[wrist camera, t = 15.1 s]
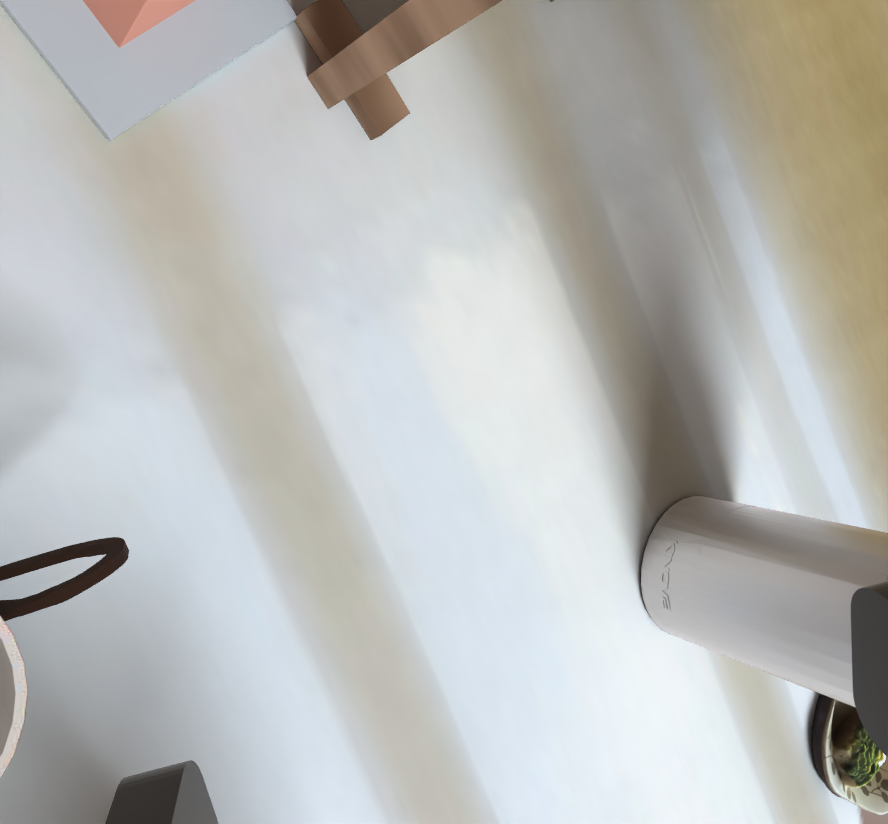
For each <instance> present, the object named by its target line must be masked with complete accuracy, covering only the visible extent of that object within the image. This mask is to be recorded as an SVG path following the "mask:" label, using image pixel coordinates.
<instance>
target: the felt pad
mask: <svg viewBox="0 0 888 824" xmlns="http://www.w3.org/2000/svg"><path fill="white" fill-rule="evenodd" d="M0 4H1V5H2V7H3V8H4V9H5V10H6V12H7V13H8V14H9V15H10V17H11V18H12V19H13V21H14V22H15V23H16V24H17V26H18V27H19V28H20V29H21V31H22V32H23V33H24V35H25V36H26V37H27V38H28V40H29V41H30V42H31V43H32V45H33V46H34V47H35V48H36V50H37V51H38V52H39V54H40V55H41V56H42V57H43V59H44V60H45V61H46V62H47V64H48V65H49V66H50V67H51V69H52V70H53V71H54V73H55V74H56V75H57V76H58V78H59V79H60V80H61V81H62V83H63V84H64V85H65V86H66V88H67V89H68V90H69V92H70V93H71V94H72V95H73V97H74V98H75V99H76V100H77V102H78V103H79V104H80V105H81V107H82V108H83V109H84V111H85V112H86V113H87V114H88V116H89V117H90V118H91V119H92V121H93V122H94V123H95V125H96V126H97V127H98V128H99V130H100V131H101V132H102V133H103V135H104V136H105V137H106V138H107V140H108V141H110V140H112V139H113V138H115V137H116V136H118V135H119V134H121V133H122V132H124V131H125V130H127V129H129V128H130V127H132V126H133V125H135V124H136V123H138V122H139V121H141V120H142V119H144V118H145V117H147V116H148V115H150V114H152V113H153V112H155V111H156V110H158V109H159V108H161V107H162V106H164V105H165V104H167V103H168V102H170V101H171V100H173V99H175V98H176V97H178V96H179V95H181V94H182V93H184V92H185V91H187V90H188V89H190V88H191V87H193V86H194V85H196V84H198V83H199V82H201V81H202V80H204V79H205V78H207V77H208V76H210V75H211V74H213V73H214V72H216V71H218V70H219V69H221V68H222V67H224V66H225V65H227V64H228V63H230V62H231V61H233V60H234V59H236V58H237V57H239V56H241V55H242V54H244V53H245V52H247V51H248V50H250V49H251V48H253V47H254V46H256V45H257V44H259V43H260V42H262V41H264V40H265V39H267V38H268V37H270V36H271V35H273V34H274V33H276V32H277V31H279V30H280V29H282V28H283V27H285V26H287V25H288V24H290V23H291V22H293V21H294V20H295V19H296V18H297V16H296V14H295V12H294V11H293V9H292V8H291V6H290V5H289V3H288V1H287V0H195V1H194V2H192V3H191V4H189V5H187V6H186V7H184V8H183V9H181V10H179V11H178V12H176V13H175V14H173V15H171V16H170V17H168V18H167V19H165V20H163V21H162V22H160V23H159V24H157V25H155V26H154V27H152V28H151V29H149V30H147V31H146V32H144V33H142V34H141V35H139V36H138V37H136V38H134V39H133V40H131V41H130V42H128V43H126V44H125V45H123V46H122V47H120V48H118V46H117V45H116V44H115V42H114V41H113V40H112V38H111V37H110V36H109V34H108V33H107V32H106V30H105V29H104V28H103V26H102V25H101V24H100V23H99V21H98V20H97V19H96V17H95V16H94V15H93V13H92V12H91V11H90V9H89V8H88V7H87V5H86V4H85V3H84V1H83V0H0Z"/></svg>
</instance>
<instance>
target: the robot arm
mask: <svg viewBox="0 0 888 824" xmlns="http://www.w3.org/2000/svg"><path fill="white" fill-rule="evenodd" d="M641 587H642V595H643V600H644V603H645V606H646V609H647V612H648V613H649V615H650V617H651V619H652V620H653V622H654V623H655V624H656V625H657V626H658V627H659V628H660V629H662V630H663V631H665V632H667V633H669V634H671V635H674V636H676V637H679V638H681V639H684V640H686V641H689V642H691V643H694V644H697V645H699V646H702V647H704V648H707V649H709V650H712V651H714V652H716V653H719V654H721V655H724V656H726V657H729V658H731V659H734V660H736V661H739V662H741V663H744V664H746V665H749V666H752V667H754V668H757V669H759V670H762V671H764V672H767V673H769V674H772V675H774V676H777V677H780V678H782V679H785V680H787V681H790V682H792V683H795V684H797V685H800V686H802V687H805V688H808V689H810V690H813V691H815V692H818V693H820V694H823V695H825V696H828V697H830V698H833V699H836V700H838V701H841V702H843V703H846V704H848V705H851V706H853V707H856V710H857V713H858V715H859V718H860V720H861V722H862V724H863V726H864V728H865V730H866V732H867V733H868V735H869V736H870V738H871V739H872V741H873V742H874V743H875V745H876V746H877V747H878V748H879V749H880V750H881V751H882V752H883V753H884V754H885V755H886V756H887V757H888V533H885V532H880V531H875V530H870V529H865V528H860V527H855V526H850V525H845V524H840V523H835V522H830V521H825V520H820V519H815V518H810V517H805V516H800V515H795V514H790V513H785V512H779V511H774V510H769V509H764V508H759V507H755V506H751V505H745V504H740V503H735V502H730V501H725V500H720V499H715V498H710V497H705V496H691V497H688V498H684V499H682V500H680V501H679V502H677V503H675V504H674V505H672V506H671V507H670V508H669V509H668V510H667V511H666V512H665V513H664V514H663V516H662V517H661V518H660V520H659V521H658V522H657V524H656V525H655V527H654V529H653V531H652V533H651V535H650V537H649V540H648V543H647V546H646V549H645V552H644V557H643V562H642V568H641ZM105 824H218V821H217V818H216V815H215V812H214V809H213V806H212V803H211V800H210V797H209V794H208V791H207V788H206V785H205V782H204V779H203V777H202V774H201V771H200V769H199V767H198V766H197V764H196V763H195V762H194V761H187V762H183V763H179V764H175V765H171V766H167V767H164V768H160V769H156V770H152V771H148V772H144V773H141V774H137V775H133V776H129V777H126V778H124V779H123V780H121V782H120V784H119V785H118V788H117V790H116V793H115V796H114V799H113V802H112V805H111V808H110V811H109V814H108V817H107V820H106V823H105Z"/></svg>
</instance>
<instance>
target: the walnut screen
mask: <svg viewBox="0 0 888 824" xmlns="http://www.w3.org/2000/svg"><path fill="white" fill-rule="evenodd" d="M500 1H502V0H409V1H407V2H406V3H405V4H403V5H402V6H401V7H399V8H398V9H397V10H395V11H394V12H393V13H391V14H390V15H389V16H387V17H386V18H385V19H383V20H382V21H381V22H379V23H378V24H377V25H375V26H374V27H373V28H371V29H370V30H369V31H367V32H366V33H365V34H362V32H361V31H360V29H359V27H358V26H357V24H356V22H355V21H354V19H353V17H352V16H351V14H350V12H349V11H348V9H347V7H346V6H345V4H344V3H343V1H342V0H318V1H317V2H315V3H314V4H312V5H311V6H309V7H307V8H306V9H304V10H303V11H302V12H301V13H300V14H298V15H297V18H296V19H295V22H296V23H297V25H298V27H299V28H300V30H301V31H302V33H303V34H304V36H305V38H306V39H307V41H308V42H309V44H310V45H311V47H312V49H313V50H314V52H315V53H316V55H317V56H318V58H319V60H320V61H321V63H322V64H323V65H322V66H321V67H319V68H318V69H317V70H315V71H314V72H313V73H311V74H310V75H309V76H307V77H308V78H309V80H310V82H311V83H312V85H313V86H314V88H315V89H316V91H317V92H318V94H319V95H320V97H321V98H322V100H323V102H324V103H325V105H326V106H327V108H328V109H329V108H331V107H332V106H334V105H336V104H337V103H339V102H340V101H342V100H344V99H345V100H346V102H347V104H348V105H349V107H350V108H351V110H352V111H353V113H354V115H355V116H356V118H357V119H358V121H359V122H360V124H361V126H362V127H363V129H364V130H365V132H366V133H367V135H368V137H369V138H370V140H373V139H375V138H377V137H379V136H381V135H382V134H383V133H385V132H386V131H387V130H389V129H390V128H391V127H393V126H394V125H395V124H396V123H398V122H399V121H400V120H402V119H403V118H404V117H406V116H407V115H408V114H409V113H410V112H409V110H408V109H407V107H406V105H405V104H404V102H403V100H402V99H401V97H400V95H399V94H398V92H397V90H396V89H395V87H394V85H393V84H392V82H391V80H390V79H389V77H388V75H387V74H386V73H387V72H388V71H390V70H392V69H393V68H395V67H396V66H398V65H400V64H401V63H403V62H404V61H406V60H408V59H409V58H411V57H412V56H414V55H416V54H417V53H419V52H420V51H422V50H424V49H425V48H427V47H428V46H430V45H432V44H433V43H435V42H436V41H438V40H440V39H441V38H443V37H444V36H446V35H448V34H449V33H451V32H452V31H454V30H456V29H457V28H459V27H460V26H462V25H464V24H465V23H467V22H468V21H470V20H472V19H473V18H475V17H476V16H478V15H480V14H481V13H483V12H484V11H486V10H488V9H489V8H491V7H492V6H494V5H496V4H497V3H499V2H500ZM550 1H551V2H552V1H554V0H550Z"/></svg>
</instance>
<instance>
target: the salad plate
mask: <svg viewBox="0 0 888 824" xmlns="http://www.w3.org/2000/svg"><path fill="white" fill-rule="evenodd" d="M812 752H813V757H814V762H815V764H816V767H817V770H818V772H819V775H820V777H821V779H822V780H823V782H824V783H825V785H826V786H827V788H828V789H829V790H830V791H831V792H832V793H833V794H835V795H836V796H838V797H841V798H844V799H846V800H848V801H850V802H851V803H853V804H855V805H857V806H859V807H861V808H863V809H864V810H867V811H870V812H873V813H876V814H879V815H881V814H886V813H888V757H886V760H885V762H884V763H883V764H882V765H881V766H880V767H879V765H878V762H879V761H882V760H883V752H882V751H881V750H880V749H879V748H878V747H877V746H876V745H875V743H874V742H873V741H872V739H871V738H870V736H869V735H868V733H867V732H866V730H865V728H864V726H863V724H862V722H861V720H860V718H859V715H858V713H857V710H856V707H853V706H851V705H848V704H846V703H843V702H841V701H838V700H836V699H833V698H830V697H828V696H825V695H823V694H820V695H819V698H818V702H817V706H816V710H815V715H814V720H813V727H812Z"/></svg>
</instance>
